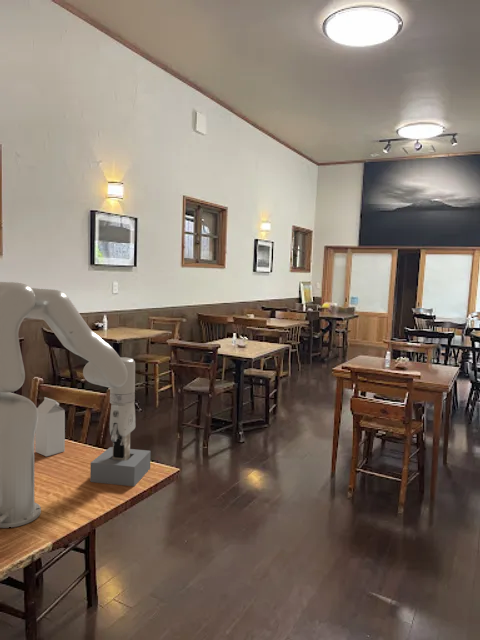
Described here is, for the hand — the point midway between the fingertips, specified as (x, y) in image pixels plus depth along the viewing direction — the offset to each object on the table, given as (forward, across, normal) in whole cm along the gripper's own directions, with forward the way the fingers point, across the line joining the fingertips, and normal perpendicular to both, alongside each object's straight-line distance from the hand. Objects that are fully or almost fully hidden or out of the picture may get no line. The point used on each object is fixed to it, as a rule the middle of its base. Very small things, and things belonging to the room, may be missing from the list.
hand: (121, 454), depth 152 cm
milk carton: (+7, +13, +32) cm, 35 cm away
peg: (+2, 0, 0) cm, 2 cm away
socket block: (+7, 0, 0) cm, 7 cm away
